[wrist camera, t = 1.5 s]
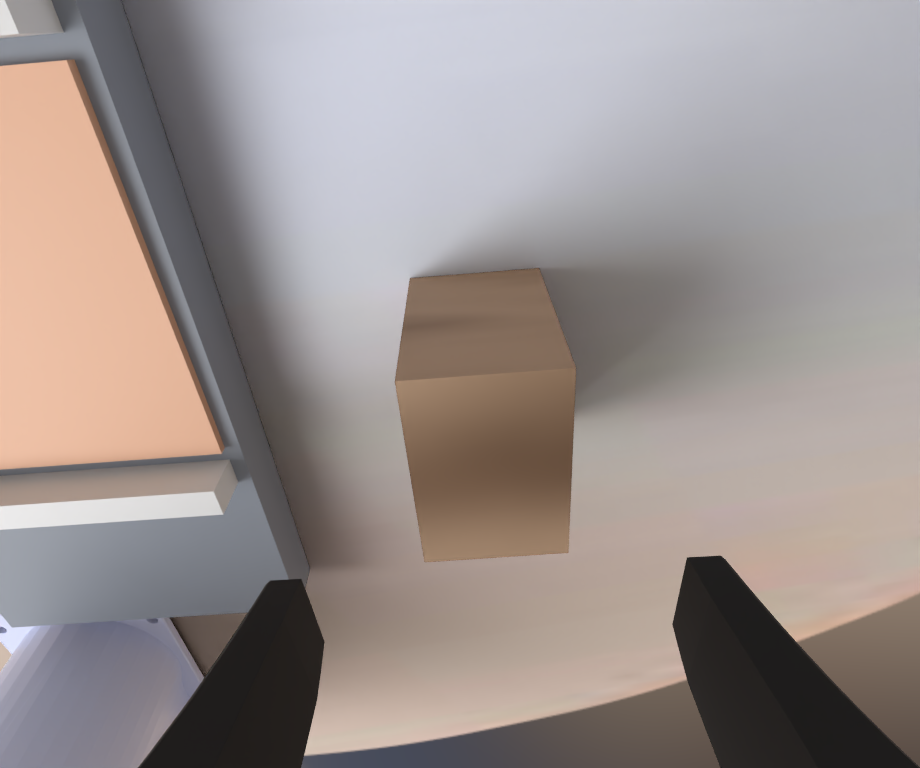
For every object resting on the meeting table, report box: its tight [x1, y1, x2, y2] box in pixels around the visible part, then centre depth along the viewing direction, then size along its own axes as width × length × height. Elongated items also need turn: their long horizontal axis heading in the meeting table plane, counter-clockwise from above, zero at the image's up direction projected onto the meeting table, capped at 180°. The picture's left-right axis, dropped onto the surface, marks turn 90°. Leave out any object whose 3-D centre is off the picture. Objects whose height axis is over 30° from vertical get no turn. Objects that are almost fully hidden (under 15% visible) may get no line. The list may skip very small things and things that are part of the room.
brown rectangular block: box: [395, 268, 576, 562], centre depth 17 cm, size 6×4×6 cm, turn 4°
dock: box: [0, 0, 310, 628], centre depth 17 cm, size 24×12×4 cm, turn 4°
